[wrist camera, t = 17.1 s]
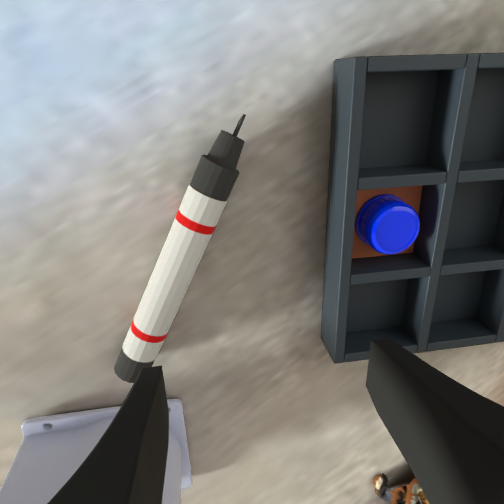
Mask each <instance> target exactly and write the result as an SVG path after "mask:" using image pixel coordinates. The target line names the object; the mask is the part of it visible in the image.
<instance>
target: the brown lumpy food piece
mask: <svg viewBox="0 0 504 504" xmlns="http://www.w3.org/2000/svg"><path fill="white" fill-rule="evenodd" d="M373 483H374V486H375V487H376V490H375V492H376V494H377V495H378V496H379V497H380V498H381V499H383V500H384V501H387V502H389V503H390V504H429V503H428V501H427V499H426V497H425V495H424V492H423V490H422V488H421V486H420V484H419V482H418V481H417V479H416V478H415V479H413V481H412V482H411V483H410V484H409V485H403V486H401V487H400V488H398V487H397V488H396V489H395V490H394V491H393V492H392V491H391V490H390V489H389V488H387V483H388V479H387V477H386V475H384V474H383V473H382V474H379V475H377V476H376V477H375V478H374V480H373Z"/></svg>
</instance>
